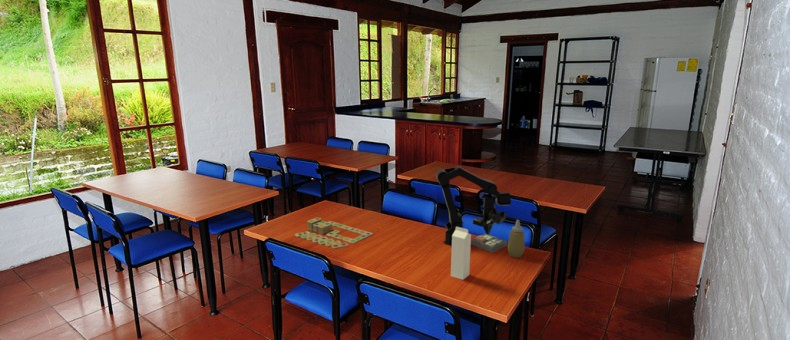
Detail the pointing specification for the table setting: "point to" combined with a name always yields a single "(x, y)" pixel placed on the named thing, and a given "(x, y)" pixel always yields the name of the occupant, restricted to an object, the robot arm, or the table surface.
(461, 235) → the milk
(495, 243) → the tile cream
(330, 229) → the pile of dominoes
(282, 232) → the table surface
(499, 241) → the tile bluegrey
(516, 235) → the squeeze bottle
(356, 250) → the table surface
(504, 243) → the bezel board
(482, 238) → the tile terracotta
